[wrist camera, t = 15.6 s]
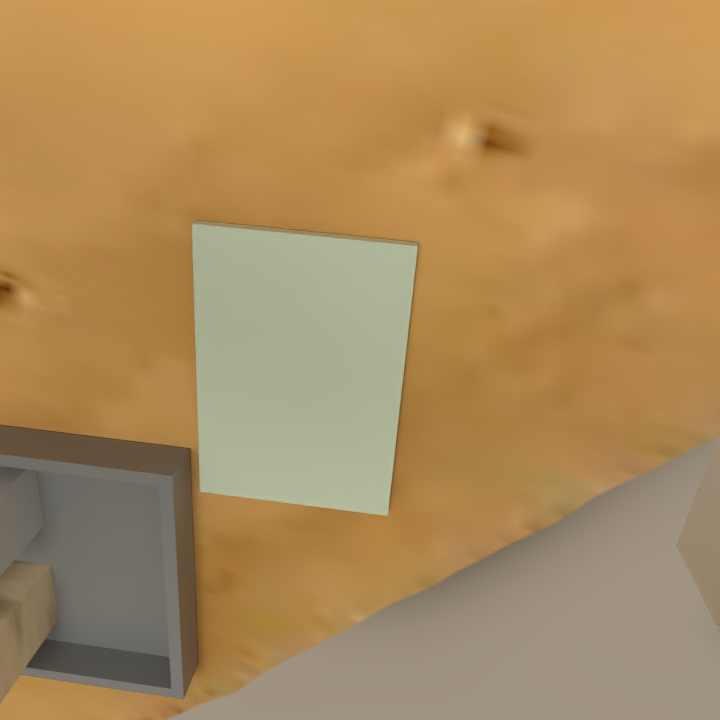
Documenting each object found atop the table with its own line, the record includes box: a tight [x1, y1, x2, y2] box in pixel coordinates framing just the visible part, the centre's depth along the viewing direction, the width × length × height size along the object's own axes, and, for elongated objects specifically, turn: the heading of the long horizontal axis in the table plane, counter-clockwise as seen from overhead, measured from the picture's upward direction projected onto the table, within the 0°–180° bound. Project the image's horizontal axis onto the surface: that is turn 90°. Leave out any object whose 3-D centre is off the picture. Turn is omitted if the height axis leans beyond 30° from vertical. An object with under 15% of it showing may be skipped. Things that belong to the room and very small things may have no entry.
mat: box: [192, 220, 418, 516], centre depth 45 cm, size 14×20×1 cm
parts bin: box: [0, 425, 198, 699], centre depth 52 cm, size 30×22×4 cm
